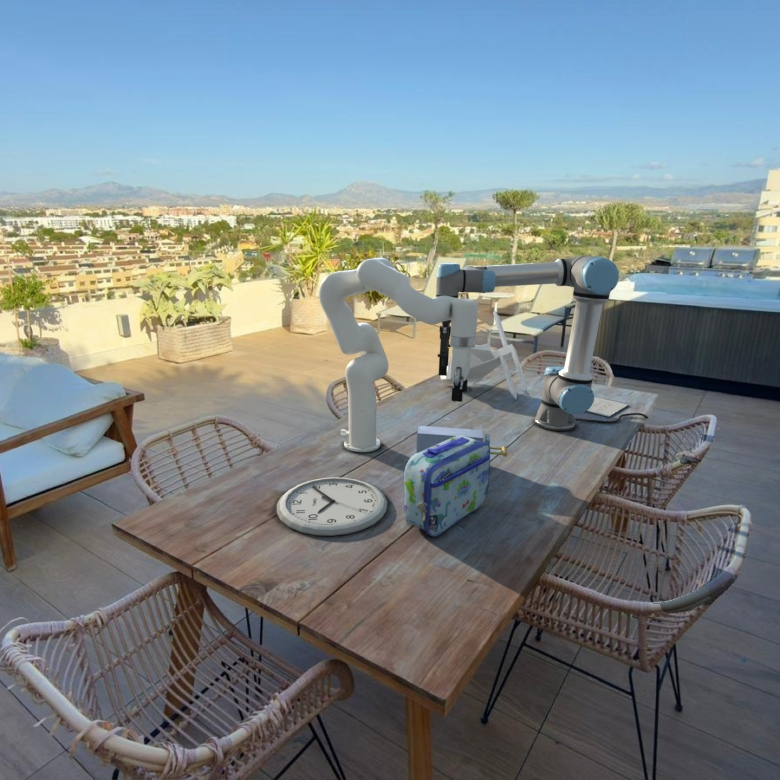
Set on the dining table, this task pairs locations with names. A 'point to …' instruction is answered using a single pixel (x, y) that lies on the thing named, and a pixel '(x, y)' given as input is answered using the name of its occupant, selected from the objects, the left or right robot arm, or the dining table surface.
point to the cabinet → (442, 435)
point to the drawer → (504, 451)
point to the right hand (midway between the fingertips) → (443, 370)
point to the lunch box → (446, 483)
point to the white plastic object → (492, 362)
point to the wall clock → (331, 506)
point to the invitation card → (605, 407)
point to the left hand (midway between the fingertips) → (459, 396)
